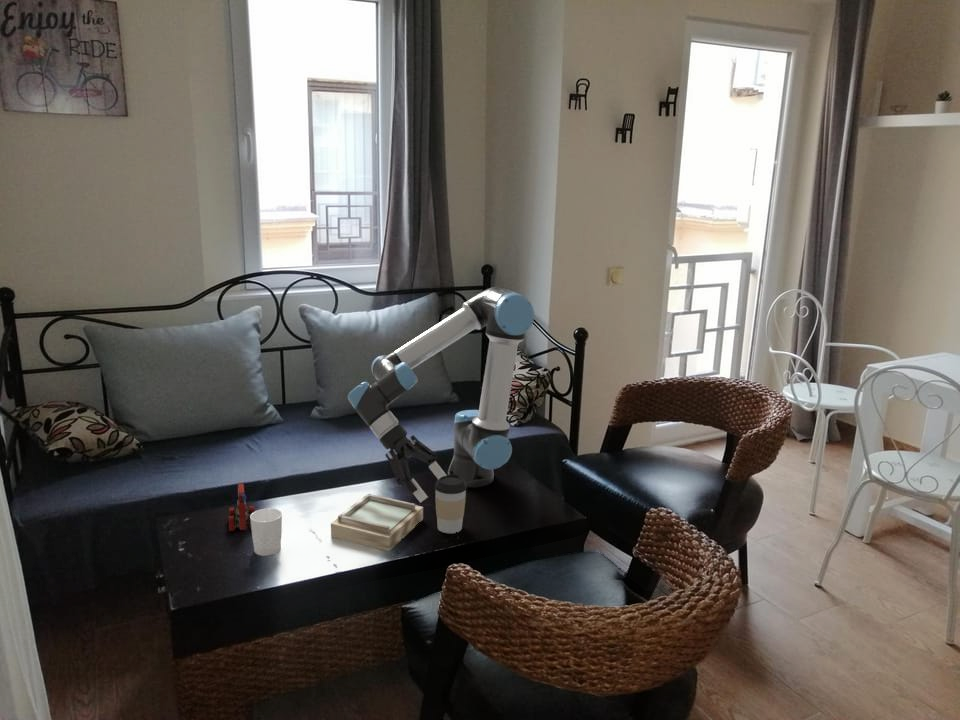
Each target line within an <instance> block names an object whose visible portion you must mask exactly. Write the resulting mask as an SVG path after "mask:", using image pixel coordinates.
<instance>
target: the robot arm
mask: <svg viewBox="0 0 960 720" xmlns="http://www.w3.org/2000/svg"><path fill="white" fill-rule="evenodd" d="M534 319H535V310H534V307H533V305H532V303H531V301H530V300H529V299H528V298H527V297H525V296H524V295H523V294H522V293H520V292H516V291H514V290H511V289H508V288H506V287H504V286H493V287H489V288H487V289H485V290H483V291H481V292H479V293H477V294H476V295H474V296H472V297H471V298H469V299H467V300H466V301H465V302H463V304H462V306H461V308H459V309H458V310H457V311H455V312H453V313H452V314H451V315H449V316H447V317H446V318H444V319H442V320H441V321H440V322H438V323H436V324H435V325H433V326H432V327H430V328H429V329H428V330H425V331H424V332H423V333H421V334H419V335H418V336H416V337H415V338H413V339H411V340H410V341H408V342H406V343H405V344H404V345H402V346H401V347H399V348H398V349H396V350H394V351H392V352H391V353H389V354H387V355H379V356H377V357H375V359H374V360H373V361H372V362H371V366H370V369H371V373H372V375H373V378H374V379H375V380H376V381H374V383H372V384H370V383H369V382H368V381H363V382H361V383H360V384H359V385H357V386H356V387H354V388H353V389H352V390H350V392H349V393H348V395H347V399H348V401H349V403H350V404H351V405H352V407H353V408H354V410H355V411H356V413H357V414H358V416H359V417H360V418H361V419H362V420H363V422H365V424H366V425H367V426H368V427H369V429H370V430H371V431H372V433H373V434H374V436H375V437H376V438H378V439H379V442H380V444H381V445H382V446H383V447H384V448H385V449H386V450H389V449H390V450H389V451H388V452H386V453H385V455H384V456H385V457H386V459H387V460H388V462H389V464H390V467H391V471H392V473H393V476H394V478H395V480H396V483H397V485H398V486H402V487H403V486H406V487H407V488H408V490H409V491H410V493H412V494H413V495H414V496H415V498H416V499H417V501H419V503H422V502H423V501H425V500H426V499H428V498H429V496H428V495H427V494H426V492H425V491H424V490H423V489H422V487H421V486H420V484H419V483H418V482H417V480H415V479H414V477H413V478H412V477H411V473H410V467H409V462H408V459H409V458H412V457H413V458H415V459H417V460H419V461H422V462H423V463H425V464H428V468H429V470H430V471H431V472H432V473H433V475H434V476H435V478H436V479H437V480H439V478H441V477H443V476H447V475H449V474H455V475H458V476H459V477H460V478H462V479H463V481H465V482H466V484H467V488H481V487H485V486H489V485H490V484H492V482H494V479H495V478H494V475H495V474H494V473H495V472H494V470H496V469H499V468H501V467H502V466H504V465H505V464H506V463H507V462H509V460H510V457H512V453H513V447H512V443H511V441H510V440H509V433H510V429H511V428H510V427H511V426H510V423H509V422H508V421H507V414H508V408H509V402H510V397H511V389H512V384H513V383H512V382H513V378H514V371H515V363H516V359H517V354H518V346H519V344H520V343H522V342H523V341H524V340H525V335H526V333H527V331H528V330H529V329H530V328H531V327H532V325H533V323H534ZM485 327H486V329H485V335H486V336H487V338H488V339H489V343H488V348H487V353H486V354H487V355H486V361H485V362H486V363H485V369H484V374H483V382H482V387H481V394H480V399H479V400H480V401H479V407H478V409H465V410H461V411H458V412H456V414H455V415H454V422H453V429H454V432H453V433H454V434H453V457H452V459H451V462H450V465H449V467H448V470H447V473H446V472H445V471H444V470H443V469H442V468H443V467H441V466H440V464H439V463H438V462H437V460H438V459H439V457H438V454H437V453H436V452H435V451H434V450H432V449H431V448H430V447H428V446H426V445H425V444H424V443H423V442H421V441H420V440H419V439H418V438H417V437H416V436H415V435H414V434H413V435H411V436H410V437H409V438H408V437H407V435H408V431H407V430H406V429H405V428H404V427H403V425H402V424H400V423H399V420H398V418H397V417H396V416H395V415H394V414H393V412H392V411H391V410H390V409H389V407H388V406H389V405H391V404H392V403H393V402H394V401H396V400H398V399H399V398H400V397H401V396H402V395H403V394H405V393H406V392H408V391H409V390H411V389H412V387H414V386H415V385H416V384H417V383H418V381H419V379H418V377H417V375H416V374H415V373H414V371H413V370H412V369H415V368H416V367H417V366H420V365H421V364H422V363H423V362H425V361H427V360H429V359H430V358H432V357H433V356H435V355H436V354H438V353H439V352H441V351H443V350H444V349H446V348H447V347H448V346H451V345H452V344H454V343H455V342H457V341H459V340H460V339H462V338H463V337H464V336H466V335H467V334H470V333H471V332H472V331H474V330H478V331H479V330H481V329H483V328H485Z"/></svg>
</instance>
